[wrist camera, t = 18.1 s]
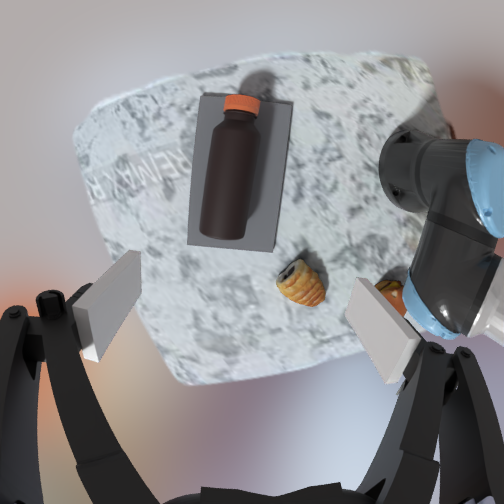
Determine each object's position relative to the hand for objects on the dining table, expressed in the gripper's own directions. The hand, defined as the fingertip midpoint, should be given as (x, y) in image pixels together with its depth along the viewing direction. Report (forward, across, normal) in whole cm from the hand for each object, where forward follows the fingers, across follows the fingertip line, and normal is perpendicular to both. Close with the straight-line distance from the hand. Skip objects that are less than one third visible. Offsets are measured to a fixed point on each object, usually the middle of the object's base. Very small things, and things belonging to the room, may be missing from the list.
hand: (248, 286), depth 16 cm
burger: (+29, +31, -14) cm, 45 cm away
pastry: (+29, +12, -12) cm, 34 cm away
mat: (+28, -2, +5) cm, 29 cm away
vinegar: (+24, -3, -4) cm, 25 cm away
